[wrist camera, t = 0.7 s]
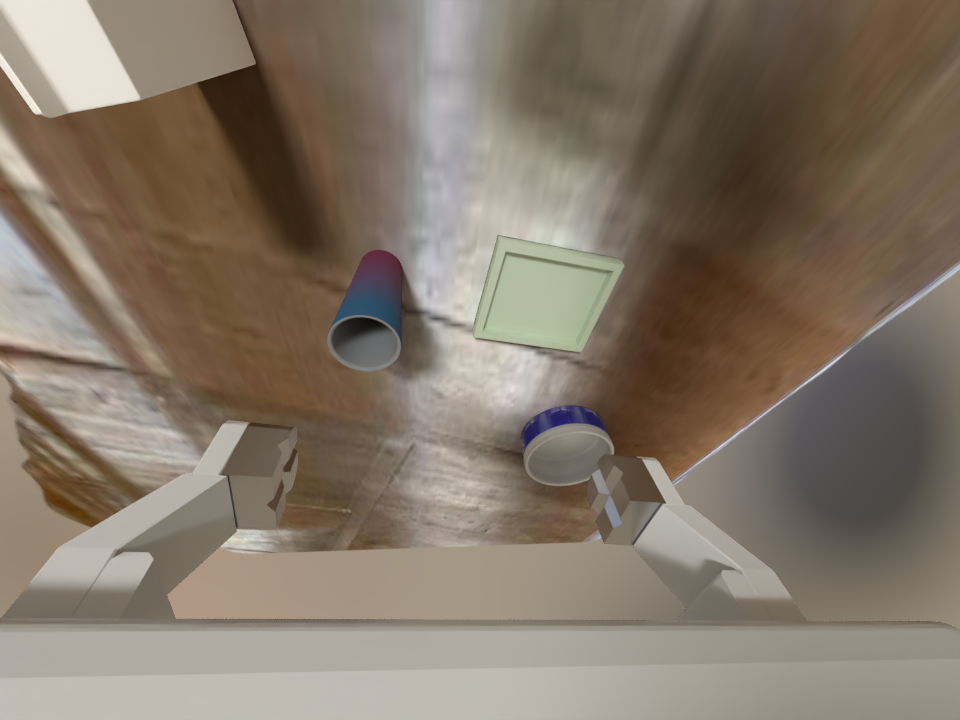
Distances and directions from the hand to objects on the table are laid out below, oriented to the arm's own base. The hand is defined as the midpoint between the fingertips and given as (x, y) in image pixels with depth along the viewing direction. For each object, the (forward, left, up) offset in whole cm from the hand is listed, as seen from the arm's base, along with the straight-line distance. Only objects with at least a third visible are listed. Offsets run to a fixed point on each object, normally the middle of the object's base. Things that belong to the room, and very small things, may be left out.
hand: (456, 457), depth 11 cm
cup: (+17, -5, -40) cm, 43 cm away
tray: (+17, +16, -40) cm, 46 cm away
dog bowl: (+44, +29, -40) cm, 66 cm away
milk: (-3, -21, -40) cm, 45 cm away
